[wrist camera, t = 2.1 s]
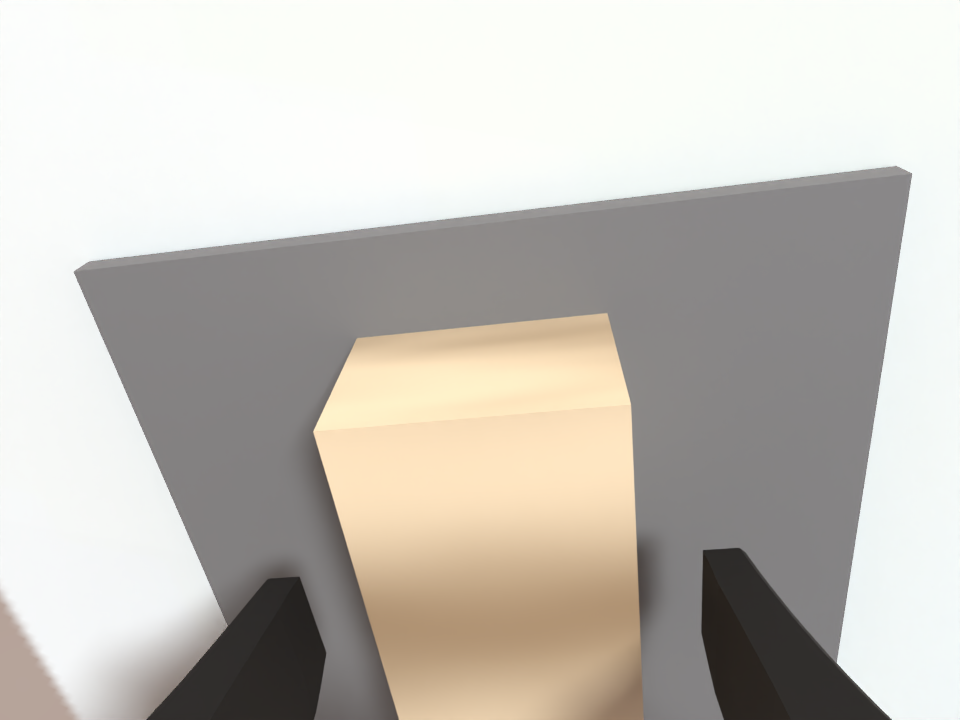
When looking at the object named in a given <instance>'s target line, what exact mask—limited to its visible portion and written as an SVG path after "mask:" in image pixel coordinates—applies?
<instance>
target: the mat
mask: <svg viewBox="0 0 960 720" xmlns="http://www.w3.org/2000/svg"><path fill="white" fill-rule="evenodd" d="M911 177H912V173H910V172H908V171H906V170H904V169H901V168H899V167H897V166H894V167H886V168H877V169H869V170H860V171H852V172H844V173H835V174H827V175H818V176H810V177H801V178H793V179H784V180H776V181H767V182H759V183H751V184H742V185H734V186H725V187H717V188H708V189H700V190H691V191H683V192H674V193H666V194H657V195H649V196H641V197H632V198H624V199H615V200H607V201H598V202H590V203H581V204H573V205H564V206H556V207H547V208H539V209H531V210H522V211H514V212H505V213H497V214H488V215H480V216H471V217H463V218H454V219H446V220H437V221H429V222H421V223H412V224H404V225H395V226H387V227H378V228H370V229H361V230H353V231H344V232H336V233H327V234H319V235H311V236H302V237H294V238H285V239H277V240H268V241H260V242H251V243H243V244H234V245H226V246H218V247H209V248H201V249H192V250H184V251H175V252H167V253H158V254H150V255H141V256H133V257H124V258H116V259H108V260H99V261H91V262H88V263H86V264H85V265H83V266H82V267H80V268H78V269H77V270H75V271H74V274H75V276H76V278H77V281H78V283H79V285H80V287H81V290H82V292H83V294H84V297H85V299H86V301H87V303H88V306H89V308H90V310H91V313H92V315H93V317H94V320H95V322H96V324H97V326H98V329H99V331H100V333H101V336H102V338H103V340H104V342H105V345H106V347H107V349H108V352H109V354H110V356H111V359H112V361H113V363H114V365H115V368H116V370H117V372H118V375H119V377H120V379H121V381H122V384H123V386H124V388H125V391H126V393H127V395H128V398H129V400H130V402H131V404H132V407H133V409H134V411H135V414H136V416H137V418H138V420H139V423H140V425H141V427H142V430H143V432H144V434H145V437H146V439H147V441H148V443H149V446H150V448H151V450H152V453H153V455H154V457H155V459H156V462H157V464H158V466H159V469H160V471H161V473H162V476H163V478H164V480H165V482H166V485H167V487H168V489H169V492H170V494H171V496H172V498H173V501H174V503H175V505H176V508H177V510H178V512H179V515H180V517H181V519H182V521H183V524H184V526H185V528H186V531H187V533H188V535H189V537H190V540H191V542H192V544H193V547H194V549H195V551H196V554H197V556H198V558H199V560H200V563H201V565H202V567H203V570H204V572H205V574H206V576H207V579H208V581H209V583H210V586H211V588H212V590H213V593H214V595H215V597H216V599H217V602H218V604H219V606H220V609H221V611H222V613H223V615H224V618H225V620H226V622H227V625H228V626H229V625H230V623H231V622H232V621H233V620H234V619H235V617H236V616H237V615H238V614H239V612H240V611H241V610H242V609H243V608H244V606H245V605H246V604H247V603H248V602H249V600H250V599H251V598H252V597H253V596H254V594H255V593H256V592H257V591H258V590H259V589H260V587H261V586H262V585H263V584H264V583H265V582H266V580H267V579H270V578H286V577H300V579H301V582H302V585H303V588H304V590H305V593H306V596H307V599H308V602H309V605H310V607H311V610H312V613H313V616H314V619H315V622H316V625H317V627H318V630H319V633H320V636H321V639H322V642H323V644H324V647H325V650H326V659H325V665H324V671H323V677H322V684H321V689H320V694H319V700H318V705H317V710H316V714H315V717H314V720H399V718H398V714H397V711H396V708H395V704H394V701H393V698H392V694H391V691H390V688H389V684H388V681H387V677H386V674H385V671H384V667H383V664H382V661H381V657H380V654H379V651H378V647H377V644H376V641H375V637H374V634H373V631H372V627H371V624H370V620H369V617H368V614H367V610H366V607H365V604H364V600H363V597H362V594H361V590H360V587H359V584H358V580H357V577H356V574H355V570H354V567H353V563H352V560H351V557H350V553H349V550H348V547H347V543H346V540H345V537H344V533H343V530H342V527H341V523H340V520H339V517H338V513H337V510H336V507H335V503H334V500H333V496H332V493H331V490H330V486H329V483H328V480H327V476H326V473H325V470H324V466H323V463H322V460H321V456H320V453H319V450H318V446H317V443H316V439H315V436H314V433H313V431H314V429H315V427H316V425H317V422H318V420H319V418H320V416H321V414H322V412H323V410H324V407H325V405H326V403H327V401H328V399H329V397H330V395H331V393H332V390H333V388H334V386H335V384H336V382H337V380H338V378H339V375H340V373H341V371H342V369H343V367H344V365H345V363H346V360H347V358H348V356H349V354H350V352H351V350H352V348H353V346H354V343H355V341H356V339H357V338H364V337H374V336H384V335H394V334H404V333H414V332H424V331H434V330H444V329H454V328H464V327H474V326H484V325H494V324H504V323H513V322H523V321H533V320H543V319H553V318H563V317H573V316H583V315H593V314H603V313H607V314H608V318H609V322H610V325H611V329H612V333H613V337H614V341H615V345H616V348H617V352H618V356H619V360H620V364H621V368H622V371H623V375H624V379H625V383H626V387H627V391H628V395H629V398H630V402H631V415H632V440H633V465H634V490H635V515H636V540H637V565H638V590H639V615H640V640H641V665H642V690H643V715H644V720H724V719H723V716H722V713H721V710H720V707H719V704H718V701H717V698H716V695H715V691H714V687H713V683H712V678H711V674H710V670H709V666H708V661H707V657H706V652H705V647H704V643H703V638H702V634H701V620H702V570H703V550H711V549H727V548H741V549H742V550H743V551H744V552H746V554H747V555H748V556H749V558H750V559H751V561H752V562H753V563H754V565H755V566H756V567H757V569H758V570H759V571H760V573H761V574H762V575H763V577H764V578H765V579H766V581H767V582H768V583H769V585H770V586H771V587H772V588H773V590H774V591H775V592H776V593H777V595H778V596H779V597H780V598H781V600H782V601H783V602H784V603H785V605H786V606H787V607H788V608H789V610H790V611H791V612H792V613H793V614H794V616H795V617H796V618H797V619H798V620H799V621H800V623H801V624H802V625H803V626H804V627H805V628H806V630H807V631H808V632H809V633H810V634H811V635H812V636H813V638H814V639H815V640H816V641H817V642H818V643H819V644H820V645H821V647H822V648H823V649H824V650H825V651H826V652H827V653H828V654H829V656H830V657H831V658H832V659H833V660H834V661H835V662H836V663H837V656H838V650H839V643H840V637H841V631H842V624H843V618H844V611H845V605H846V598H847V592H848V585H849V579H850V572H851V566H852V559H853V553H854V546H855V540H856V533H857V527H858V520H859V514H860V508H861V501H862V495H863V488H864V482H865V475H866V469H867V462H868V456H869V449H870V443H871V436H872V430H873V423H874V417H875V410H876V404H877V397H878V391H879V385H880V378H881V372H882V365H883V359H884V352H885V346H886V339H887V333H888V326H889V320H890V313H891V307H892V300H893V294H894V287H895V281H896V275H897V268H898V262H899V255H900V249H901V242H902V236H903V229H904V223H905V216H906V210H907V203H908V197H909V190H910V184H911Z"/></svg>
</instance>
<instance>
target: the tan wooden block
mask: <svg viewBox="0 0 960 720" xmlns="http://www.w3.org/2000/svg"><path fill="white" fill-rule="evenodd" d="M313 433H314V436H315V439H316V443H317V446H318V450H319V453H320V456H321V460H322V463H323V466H324V470H325V473H326V476H327V480H328V483H329V486H330V490H331V493H332V496H333V500H334V503H335V507H336V510H337V513H338V517H339V520H340V523H341V527H342V530H343V533H344V537H345V540H346V543H347V547H348V550H349V553H350V557H351V560H352V563H353V567H354V570H355V574H356V577H357V580H358V584H359V587H360V590H361V594H362V597H363V600H364V604H365V607H366V610H367V614H368V617H369V620H370V624H371V627H372V631H373V634H374V637H375V641H376V644H377V647H378V651H379V654H380V657H381V661H382V664H383V667H384V671H385V674H386V677H387V681H388V684H389V688H390V691H391V694H392V698H393V701H394V704H395V708H396V711H397V714H398V718H399V720H644V715H643V690H642V665H641V640H640V615H639V590H638V565H637V540H636V515H635V490H634V465H633V440H632V415H631V402H630V398H629V395H628V391H627V387H626V383H625V379H624V375H623V371H622V368H621V364H620V360H619V356H618V352H617V348H616V345H615V341H614V337H613V333H612V329H611V325H610V322H609V318H608V314H607V313H603V314H593V315H583V316H573V317H563V318H553V319H543V320H533V321H523V322H513V323H504V324H494V325H484V326H474V327H464V328H454V329H444V330H434V331H424V332H414V333H404V334H394V335H384V336H374V337H364V338H357V339H356V341H355V343H354V346H353V348H352V350H351V352H350V354H349V356H348V358H347V360H346V363H345V365H344V367H343V369H342V371H341V373H340V375H339V378H338V380H337V382H336V384H335V386H334V388H333V390H332V393H331V395H330V397H329V399H328V401H327V403H326V405H325V407H324V410H323V412H322V414H321V416H320V418H319V420H318V422H317V425H316V427H315V429H314V431H313Z"/></svg>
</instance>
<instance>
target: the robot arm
mask: <svg viewBox="0 0 960 720" xmlns="http://www.w3.org/2000/svg"><path fill="white" fill-rule="evenodd" d="M701 634H702V638H703V643H704V647H705V652H706V657H707V661H708V666H709V670H710V674H711V678H712V683H713V687H714V691H715V695H716V698H717V701H718V704H719V707H720V710H721V713H722V716H723V719H724V720H892V719H891V718H889V717H888V716H887V715H886V714H885V713H884V712H883V711H882V710H881V709H880V708H879V707H878V706H877V705H876V704H875V703H874V702H873V701H872V700H871V699H870V698H869V697H868V696H867V695H866V694H865V693H864V692H863V690H862V689H861V688H860V687H859V686H858V685H857V684H856V683H855V682H854V681H853V680H852V679H851V678H850V677H849V676H848V675H847V674H846V673H845V672H844V671H843V670H842V669H841V668H840V666H839V665H838V664H837V663H836V662H835V661H834V660H833V659H832V658H831V657H830V656H829V654H828V653H827V652H826V651H825V650H824V649H823V648H822V647H821V645H820V644H819V643H818V642H817V641H816V640H815V639H814V638H813V636H812V635H811V634H810V633H809V632H808V631H807V630H806V628H805V627H804V626H803V625H802V624H801V623H800V621H799V620H798V619H797V618H796V617H795V616H794V614H793V613H792V612H791V611H790V610H789V608H788V607H787V606H786V605H785V603H784V602H783V601H782V600H781V598H780V597H779V596H778V595H777V593H776V592H775V591H774V590H773V588H772V587H771V586H770V585H769V583H768V582H767V581H766V579H765V578H764V577H763V575H762V574H761V573H760V571H759V570H758V569H757V567H756V566H755V565H754V563H753V562H752V561H751V559H750V558H749V556H748V555H747V554H746V552H744V551H743V550H742V549H741V548H727V549H711V550H703V570H702V620H701ZM325 659H326V650H325V647H324V644H323V642H322V639H321V636H320V633H319V630H318V627H317V625H316V622H315V619H314V616H313V613H312V610H311V607H310V605H309V602H308V599H307V596H306V593H305V590H304V588H303V585H302V582H301V579H300V577H286V578H270V579H267V580H266V582H265V583H264V584H263V585H262V586H261V587H260V589H259V590H258V591H257V592H256V593H255V594H254V596H253V597H252V598H251V599H250V600H249V602H248V603H247V604H246V605H245V606H244V608H243V609H242V610H241V611H240V612H239V614H238V615H237V616H236V617H235V619H234V620H233V621H232V622H231V623H230V625H229V626H228V627H227V628H226V629H225V631H224V632H223V633H222V634H221V636H220V637H219V638H218V639H217V640H216V642H215V643H214V644H213V645H212V646H211V647H210V649H209V650H208V651H207V652H206V653H205V654H204V656H203V657H202V658H201V659H200V660H199V662H198V663H197V664H196V665H195V666H194V667H193V669H192V670H191V671H190V672H189V673H188V674H187V676H186V677H185V678H184V679H183V680H182V681H181V682H180V684H179V685H178V686H177V687H176V688H175V689H174V690H173V691H172V692H171V694H170V695H169V696H168V697H167V698H166V699H165V700H164V701H163V702H162V703H161V704H160V705H159V707H158V708H157V709H156V710H155V711H154V712H153V713H152V714H151V715H150V716H149V717H148V718H147V720H314V717H315V714H316V710H317V705H318V700H319V694H320V689H321V684H322V677H323V671H324V665H325Z"/></svg>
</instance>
